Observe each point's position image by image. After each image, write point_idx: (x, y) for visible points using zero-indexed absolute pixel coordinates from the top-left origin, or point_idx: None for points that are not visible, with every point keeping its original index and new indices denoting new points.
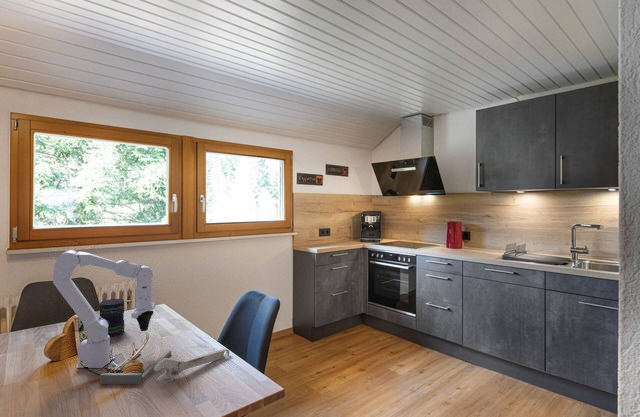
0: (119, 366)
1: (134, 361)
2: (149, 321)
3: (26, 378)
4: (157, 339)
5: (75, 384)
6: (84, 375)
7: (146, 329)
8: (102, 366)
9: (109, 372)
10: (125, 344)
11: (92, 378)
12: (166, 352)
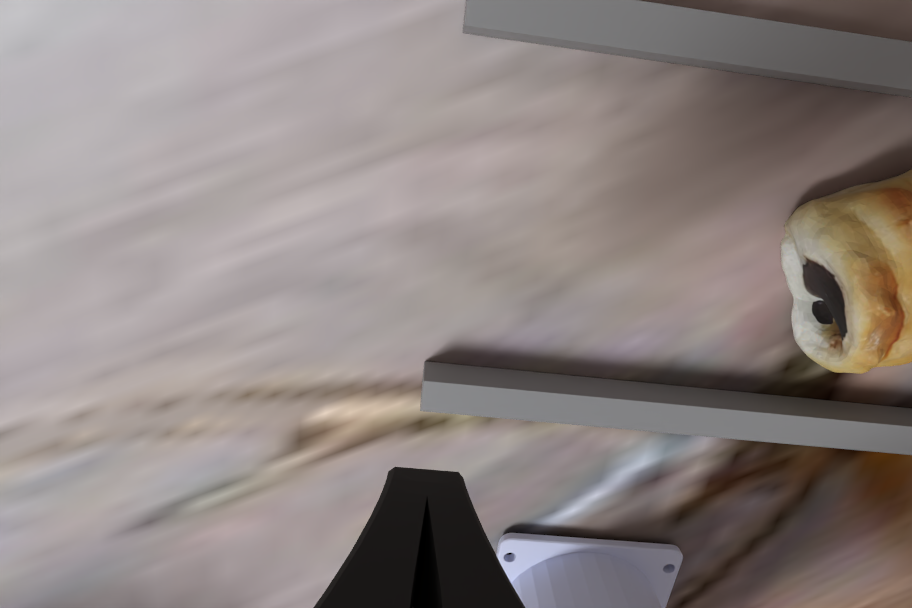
0: (794, 420)
1: (890, 299)
2: (340, 591)
3: None
4: (14, 329)
5: (894, 585)
6: (766, 595)
7: (452, 483)
8: (680, 551)
9: (894, 449)
10: (187, 574)
11: (840, 528)
12: (542, 20)
